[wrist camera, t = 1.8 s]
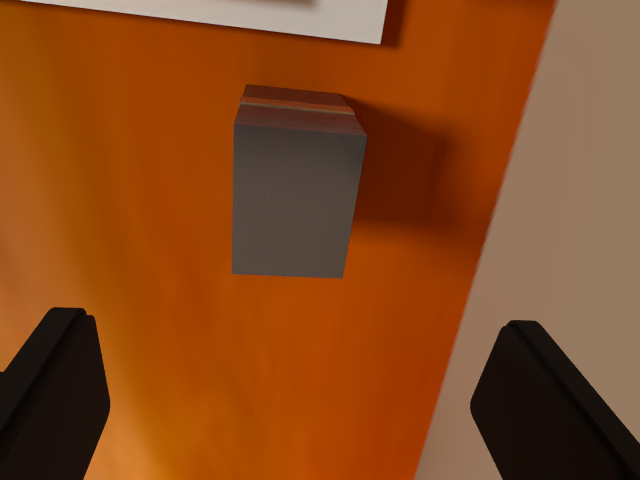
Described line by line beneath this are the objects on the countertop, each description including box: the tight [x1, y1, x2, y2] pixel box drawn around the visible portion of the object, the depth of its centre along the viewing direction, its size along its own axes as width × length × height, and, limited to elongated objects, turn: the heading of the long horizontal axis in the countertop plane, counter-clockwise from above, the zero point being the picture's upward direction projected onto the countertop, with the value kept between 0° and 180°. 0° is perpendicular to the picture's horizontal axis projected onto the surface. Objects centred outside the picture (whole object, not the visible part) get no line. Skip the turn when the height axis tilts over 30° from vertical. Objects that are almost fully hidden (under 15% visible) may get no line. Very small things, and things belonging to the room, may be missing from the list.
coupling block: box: [232, 84, 367, 278], centre depth 18 cm, size 5×6×7 cm
